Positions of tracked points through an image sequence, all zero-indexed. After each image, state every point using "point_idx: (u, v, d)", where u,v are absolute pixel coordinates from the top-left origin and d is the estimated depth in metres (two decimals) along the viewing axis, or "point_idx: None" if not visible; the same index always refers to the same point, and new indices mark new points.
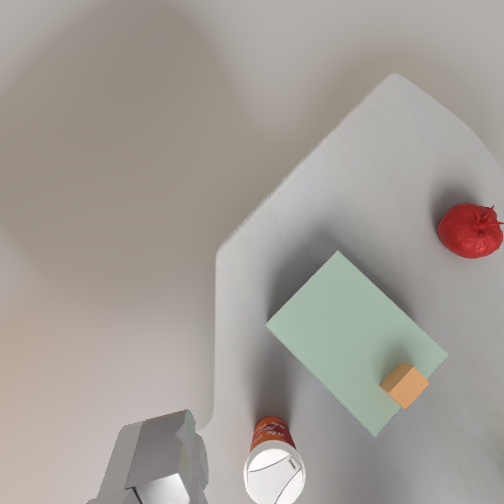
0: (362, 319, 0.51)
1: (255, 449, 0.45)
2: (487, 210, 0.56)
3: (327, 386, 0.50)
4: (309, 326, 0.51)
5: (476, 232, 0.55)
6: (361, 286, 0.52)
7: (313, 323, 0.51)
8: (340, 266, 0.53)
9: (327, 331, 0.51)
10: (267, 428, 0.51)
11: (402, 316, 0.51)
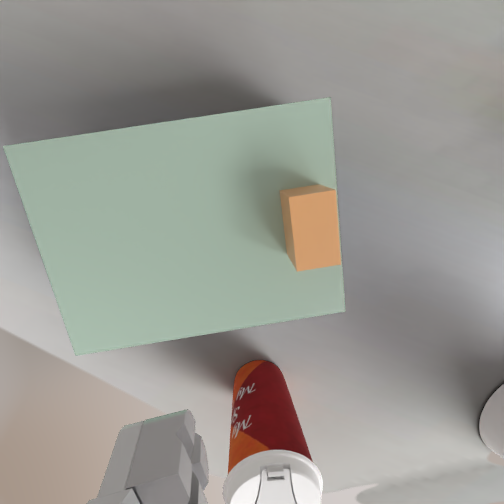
0: (166, 199, 0.24)
1: (225, 497, 0.27)
2: None
3: (231, 327, 0.27)
4: (121, 293, 0.26)
5: None
6: (105, 156, 0.23)
7: (120, 284, 0.26)
8: (41, 166, 0.23)
9: (148, 272, 0.26)
10: (233, 416, 0.33)
11: (209, 125, 0.23)
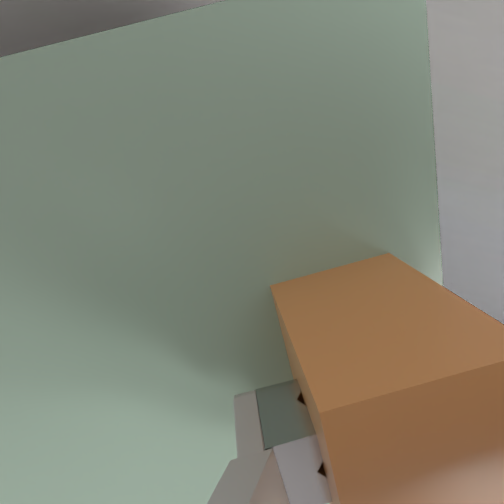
0: None
1: None
2: None
3: None
4: None
5: None
6: None
7: None
8: None
9: None
10: None
11: None
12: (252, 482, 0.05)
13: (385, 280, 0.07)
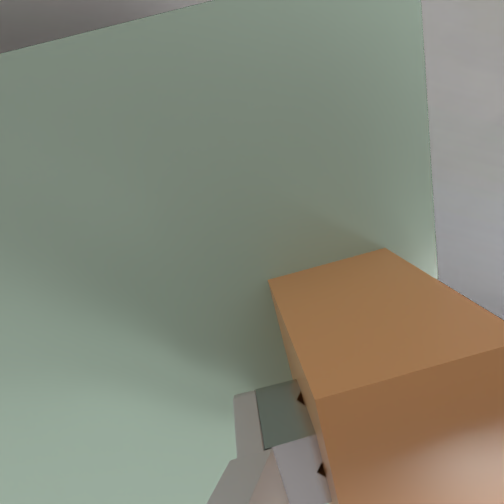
0: None
1: None
2: None
3: None
4: None
5: None
6: None
7: None
8: None
9: None
10: None
11: None
12: (252, 482, 0.05)
13: (381, 274, 0.07)
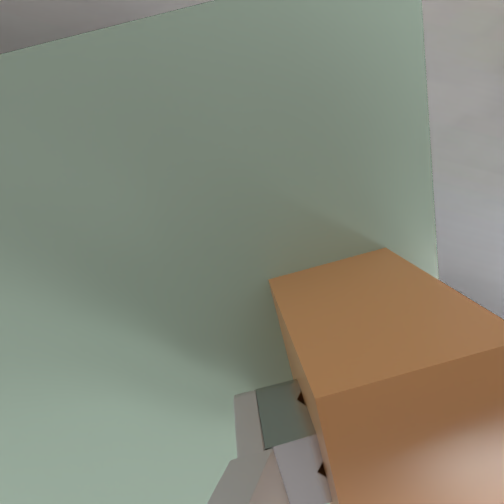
0: None
1: None
2: None
3: None
4: None
5: None
6: None
7: None
8: None
9: None
10: None
11: None
12: (252, 482, 0.05)
13: (381, 274, 0.07)
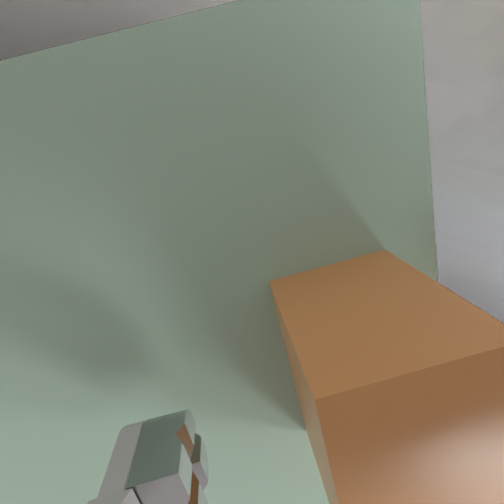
0: None
1: None
2: None
3: None
4: None
5: None
6: None
7: None
8: None
9: None
10: None
11: None
12: None
13: (380, 275, 0.07)
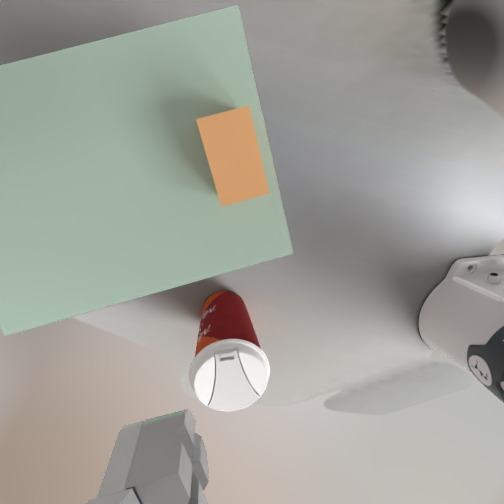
0: (70, 146, 0.21)
1: (192, 383, 0.33)
2: None
3: (171, 284, 0.25)
4: (41, 260, 0.23)
5: None
6: None
7: (38, 250, 0.23)
8: None
9: (66, 233, 0.23)
10: (199, 331, 0.39)
11: (104, 52, 0.20)
12: None
13: None
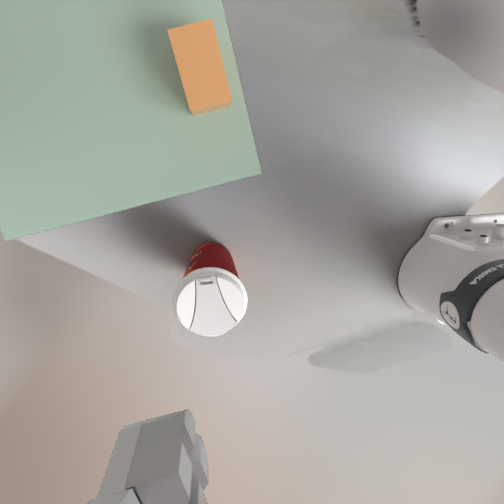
0: (64, 65, 0.25)
1: (175, 309, 0.37)
2: None
3: (152, 198, 0.28)
4: (38, 170, 0.27)
5: None
6: None
7: (35, 160, 0.27)
8: None
9: (60, 145, 0.26)
10: None
11: None
12: None
13: None
